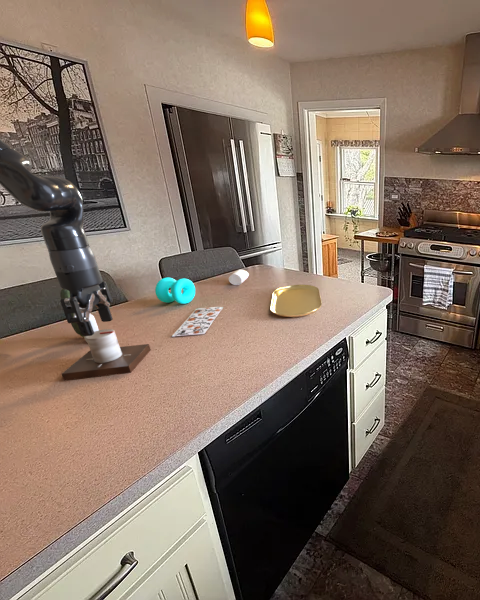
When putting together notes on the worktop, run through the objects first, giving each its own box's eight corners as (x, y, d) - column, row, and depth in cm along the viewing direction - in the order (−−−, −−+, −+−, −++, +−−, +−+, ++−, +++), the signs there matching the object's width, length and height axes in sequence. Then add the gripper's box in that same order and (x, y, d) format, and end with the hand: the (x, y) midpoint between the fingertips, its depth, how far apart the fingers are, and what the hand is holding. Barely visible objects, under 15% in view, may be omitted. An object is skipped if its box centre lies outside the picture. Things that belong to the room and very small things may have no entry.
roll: (252, 277, 161) (250, 266, 159) (242, 285, 149) (240, 273, 147) (240, 277, 160) (238, 266, 158) (229, 285, 149) (227, 273, 147)
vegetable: (72, 338, 100) (48, 275, 93) (88, 332, 104) (66, 271, 97) (83, 339, 99) (59, 277, 92) (98, 333, 103) (77, 273, 96)
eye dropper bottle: (105, 334, 102) (92, 299, 98) (101, 342, 98) (87, 305, 93) (86, 338, 100) (73, 301, 96) (81, 345, 96) (67, 308, 91)
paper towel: (196, 308, 123) (223, 306, 125) (196, 308, 123) (223, 306, 125) (171, 336, 101) (204, 333, 103) (171, 337, 101) (204, 334, 103)
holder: (64, 380, 79) (60, 373, 79) (92, 356, 90) (90, 349, 90) (131, 372, 83) (128, 365, 82) (150, 349, 94) (148, 343, 93)
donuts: (180, 308, 123) (173, 283, 120) (157, 306, 125) (150, 281, 121) (199, 299, 132) (194, 275, 129) (177, 297, 134) (171, 274, 130)
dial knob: (89, 364, 83) (79, 338, 80) (101, 353, 88) (93, 329, 85) (115, 361, 84) (106, 336, 82) (126, 350, 89) (118, 327, 87)
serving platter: (317, 286, 149) (317, 283, 149) (324, 315, 118) (323, 311, 117) (274, 289, 144) (274, 286, 143) (269, 321, 113) (268, 317, 112)
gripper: (75, 260, 83) (96, 318, 88) (34, 276, 70) (61, 342, 76) (110, 258, 84) (129, 315, 90) (76, 273, 72) (100, 338, 77)
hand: (98, 327), depth 83 cm, fingers open, 8 cm apart
